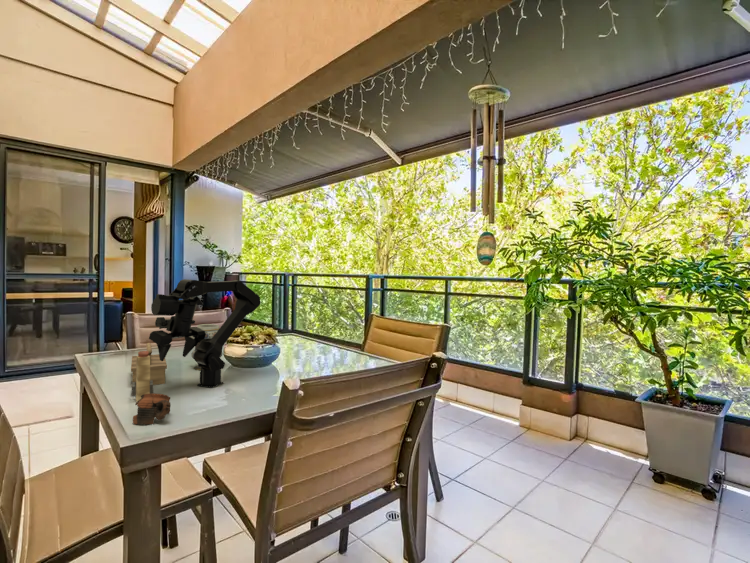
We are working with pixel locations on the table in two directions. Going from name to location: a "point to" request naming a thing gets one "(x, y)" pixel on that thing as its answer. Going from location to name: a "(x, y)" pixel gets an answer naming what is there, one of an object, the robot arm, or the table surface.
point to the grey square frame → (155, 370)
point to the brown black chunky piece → (151, 408)
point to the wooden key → (142, 374)
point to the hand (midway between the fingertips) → (173, 358)
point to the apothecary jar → (206, 336)
